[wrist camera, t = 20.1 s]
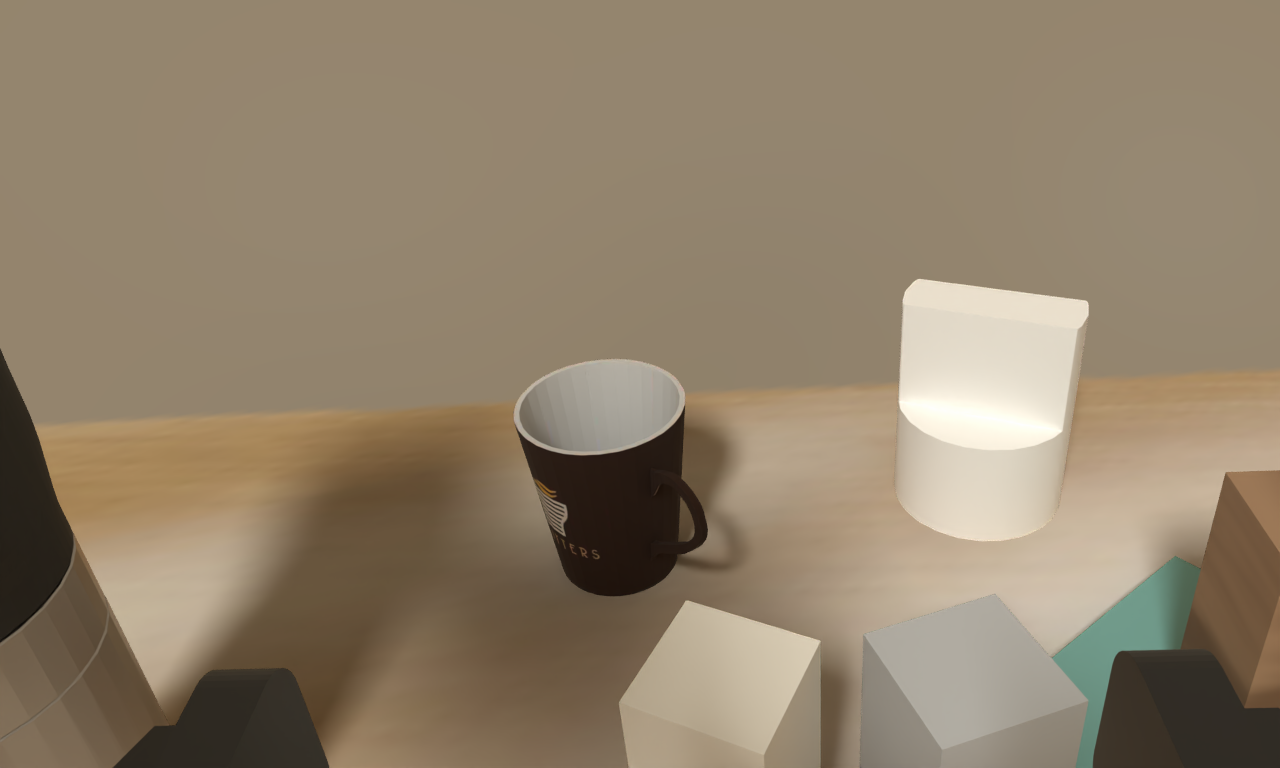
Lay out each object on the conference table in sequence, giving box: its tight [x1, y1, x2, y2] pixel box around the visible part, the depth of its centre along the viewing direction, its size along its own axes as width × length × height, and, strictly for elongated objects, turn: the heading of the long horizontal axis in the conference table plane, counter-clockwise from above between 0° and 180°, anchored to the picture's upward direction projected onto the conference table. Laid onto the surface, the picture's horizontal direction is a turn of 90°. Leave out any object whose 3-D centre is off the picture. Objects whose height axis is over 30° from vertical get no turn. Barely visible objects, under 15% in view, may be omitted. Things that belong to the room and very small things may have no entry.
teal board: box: [1052, 556, 1201, 768], centre depth 42 cm, size 16×16×2 cm
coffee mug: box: [513, 359, 708, 596], centre depth 54 cm, size 12×9×10 cm
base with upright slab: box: [894, 279, 1088, 541], centre depth 56 cm, size 9×9×12 cm
